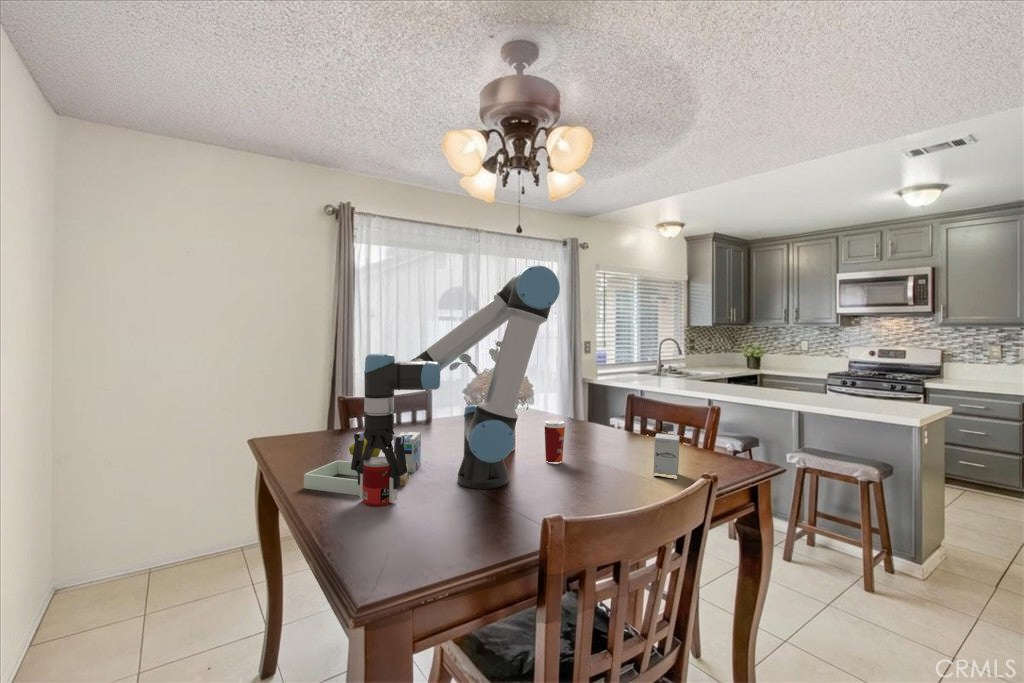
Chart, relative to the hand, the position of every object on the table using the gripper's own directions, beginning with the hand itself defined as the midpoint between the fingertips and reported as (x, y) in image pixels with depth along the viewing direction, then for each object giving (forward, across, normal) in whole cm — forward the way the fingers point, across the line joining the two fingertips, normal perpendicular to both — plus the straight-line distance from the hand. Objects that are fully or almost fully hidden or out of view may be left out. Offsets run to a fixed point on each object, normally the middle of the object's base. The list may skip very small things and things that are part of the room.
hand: (378, 498), depth 127 cm
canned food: (+1, 0, 0) cm, 1 cm away
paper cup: (+1, -36, -53) cm, 64 cm away
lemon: (+1, +25, -32) cm, 41 cm away
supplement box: (+1, -73, -50) cm, 88 cm away
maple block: (+1, +3, -15) cm, 15 cm away
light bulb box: (+1, +8, -30) cm, 31 cm away
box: (+1, +16, -10) cm, 19 cm away
